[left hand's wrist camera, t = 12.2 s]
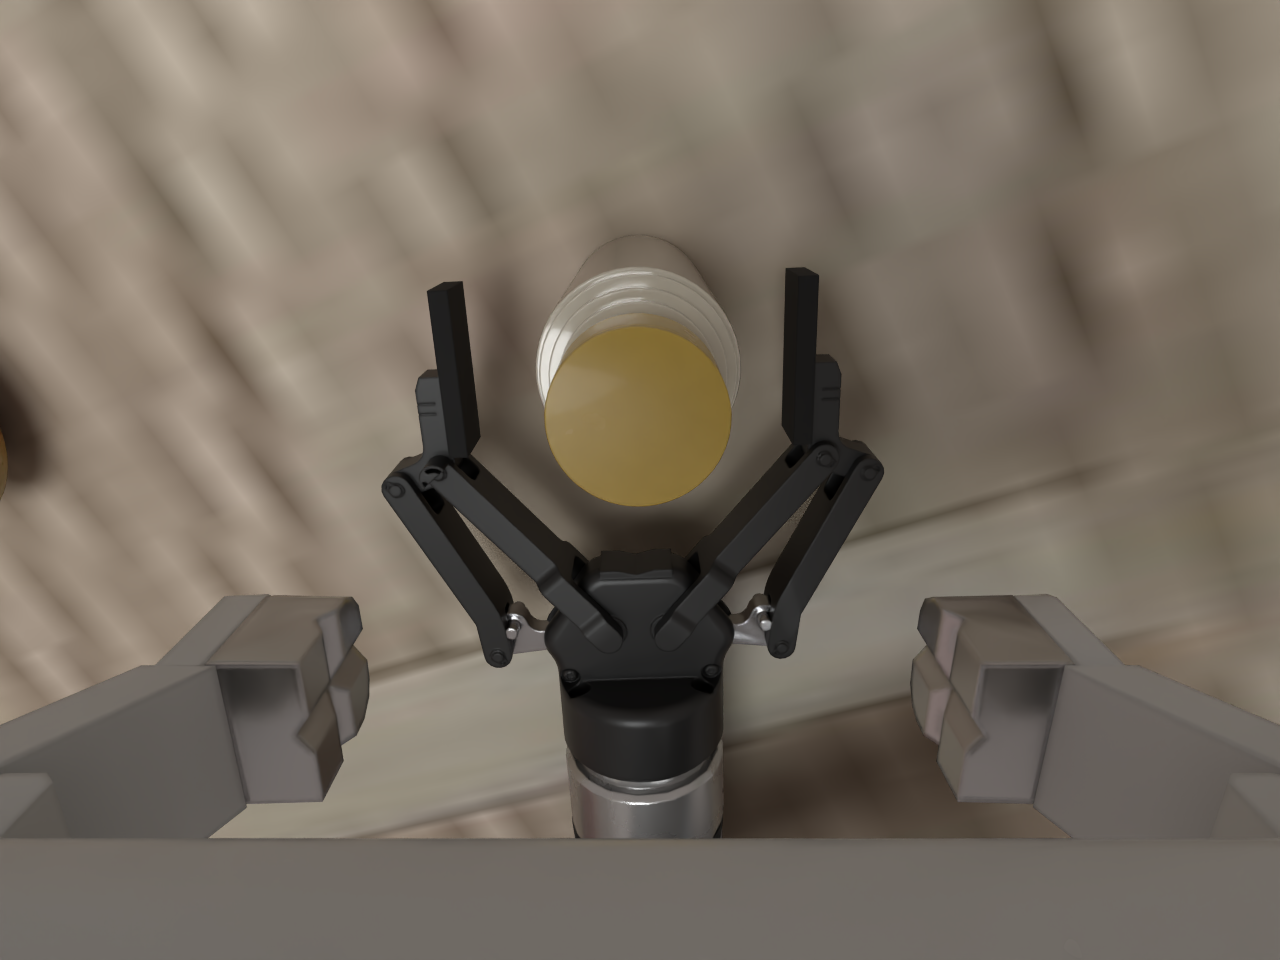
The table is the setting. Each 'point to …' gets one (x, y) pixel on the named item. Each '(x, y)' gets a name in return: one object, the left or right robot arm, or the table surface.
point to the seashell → (3, 465)
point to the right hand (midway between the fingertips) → (622, 277)
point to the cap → (637, 410)
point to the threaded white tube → (638, 303)
